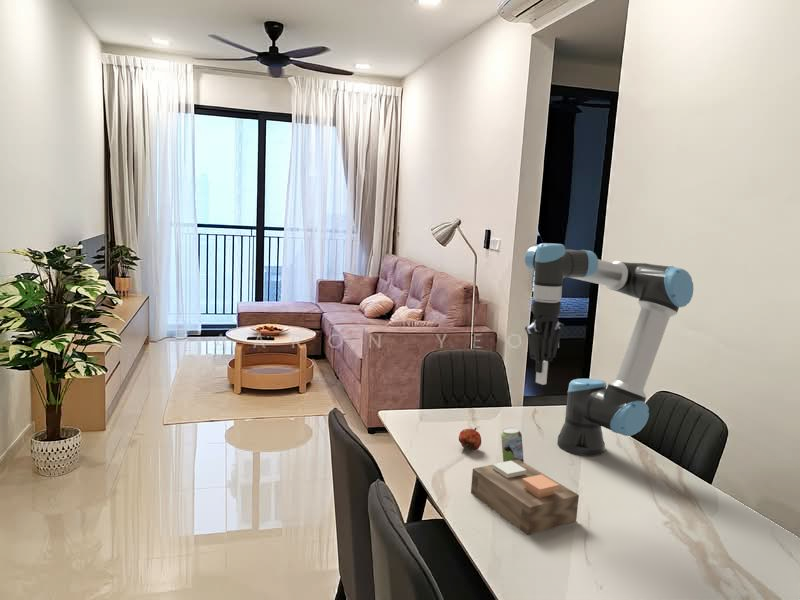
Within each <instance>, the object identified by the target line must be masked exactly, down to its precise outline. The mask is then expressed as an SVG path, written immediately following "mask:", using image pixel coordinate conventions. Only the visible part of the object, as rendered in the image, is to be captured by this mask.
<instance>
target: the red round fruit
mask: <svg viewBox="0 0 800 600" xmlns="http://www.w3.org/2000/svg"><path fill="white" fill-rule="evenodd" d="M458 441H459V443H460V444H461V446H462V447H463V448H464V449H463V451H462V454H464V453H465V451H466V449H467V450H471V451H477V450H478V449H479V448H480V447H481V446H482V437H481V434H480V433H479V431H477V427H475V428H466V429H465V428H464V429H462V430H461V431H460V432H459V435H458Z"/></svg>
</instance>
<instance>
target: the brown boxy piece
mask: <svg viewBox="0 0 800 600" xmlns="http://www.w3.org/2000/svg"><path fill="white" fill-rule="evenodd" d="M513 462H514V463H516V464H518V465H519V466H521V467H523V468H524V469H526V470H527V471H526V474H524V475H520V476H515V477H511V478H506V477H505V476H503V475H502V474H500V473H499V472H497V471H496V470H494V469H492V466H493V464H489V465H484V466H480V467H474V468H472V472H471V473H472V475H471V487H470V494H472V495H473V496H474V497H476V498H478V500H480V501H481V502H482V503H484V504H485V505H487V507H489V508H490V509H492V510H493V511H495V512H496V513H498V514H499V515H500V516H501V517H503V518H504V519H505V520H507V521H509V523H511V524H513V526H515V527H516V528H517V529H519V530H521V531H522V532H523V533H524V534H526V535H527V536H528V535H532V534H535V533H539V532H542V531H543V532H544V531H545V530H549V529H553V528H557V527H560V526H563V525H567V524H570V523H574V522H577V517H578V516H577V515H578V509H579V508H578V507H579V498H580V494H578V493H577V492H575V491H573V490H571V489H569V488H568V487H566V486H565V485H562V484H561V483H560V482H559V481H556V480H554V479H553V478H551V477H549V476H547V475H546V474H545V473H543V472H540V470H538V469H535V468H534V467H532V466H531V465H529V464H527V463H525V461H524V462H522V461H521V460H519V459H518V460H513ZM541 474H542V475H543V476H545V477H547V478H548V479H550V480H552V481H554V482H555V483H557V484H559V489H558V490H554V495H550V496H546V497H542V498H538V497H536V496H534V495H533V494H531V493H530V492H528V491H527V490H525V488H526V485H524V484H523V483H522V479H523V478H527V477H532V476H536V475H541ZM556 526H557V527H556Z"/></svg>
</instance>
